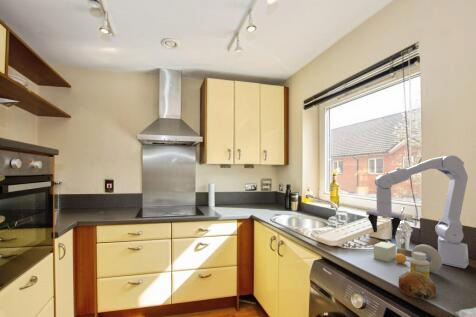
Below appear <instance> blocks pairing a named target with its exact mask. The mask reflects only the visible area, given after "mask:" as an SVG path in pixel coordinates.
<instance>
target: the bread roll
mask: <svg viewBox="0 0 476 317" xmlns="http://www.w3.org/2000/svg"><path fill="white" fill-rule="evenodd" d="M410 271H411V270H409V271H405V272H404V273H403V274H402V275H400V276H399V277H398V287H399V291H400V292H401V293H402V294H404V295H406V296H408V297H410V298H414V299H418V300H431V299H433V298H435V297H436V296H437V288H436V285H435V283H434V281H433V280H432V279H431V278H430V277H429V278H428V277H427V276H425V275H423V274H421V273H419V272H410Z"/></svg>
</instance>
